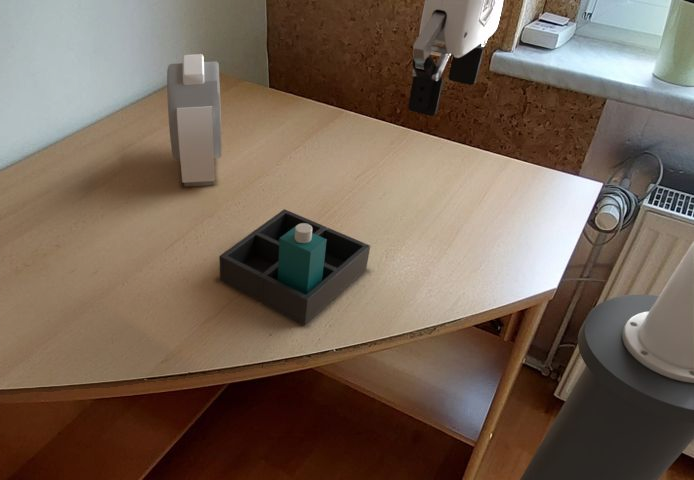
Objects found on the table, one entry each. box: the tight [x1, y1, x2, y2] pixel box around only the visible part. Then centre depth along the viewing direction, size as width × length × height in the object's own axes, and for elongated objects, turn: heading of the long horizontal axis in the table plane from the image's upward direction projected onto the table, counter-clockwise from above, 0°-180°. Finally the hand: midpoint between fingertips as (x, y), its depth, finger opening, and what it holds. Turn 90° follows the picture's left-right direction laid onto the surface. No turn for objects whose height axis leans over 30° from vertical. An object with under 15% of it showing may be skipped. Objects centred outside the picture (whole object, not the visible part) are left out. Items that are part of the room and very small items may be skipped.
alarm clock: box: [166, 53, 223, 187], centre depth 108 cm, size 18×8×20 cm, turn 0°
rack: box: [218, 209, 371, 326], centre depth 90 cm, size 15×15×5 cm
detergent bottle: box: [277, 223, 327, 295], centre depth 84 cm, size 5×4×11 cm
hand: (442, 96), depth 72 cm, fingers open, 9 cm apart
